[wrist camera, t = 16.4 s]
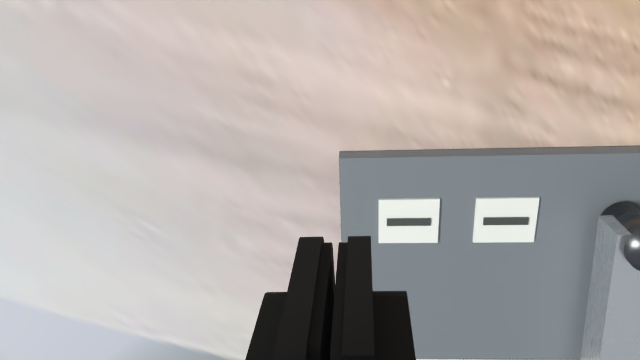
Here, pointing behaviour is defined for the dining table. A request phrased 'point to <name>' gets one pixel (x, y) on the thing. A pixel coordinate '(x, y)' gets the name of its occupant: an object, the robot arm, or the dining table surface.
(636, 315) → the swing bar
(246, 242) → the dining table surface
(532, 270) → the label board
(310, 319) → the robot arm
